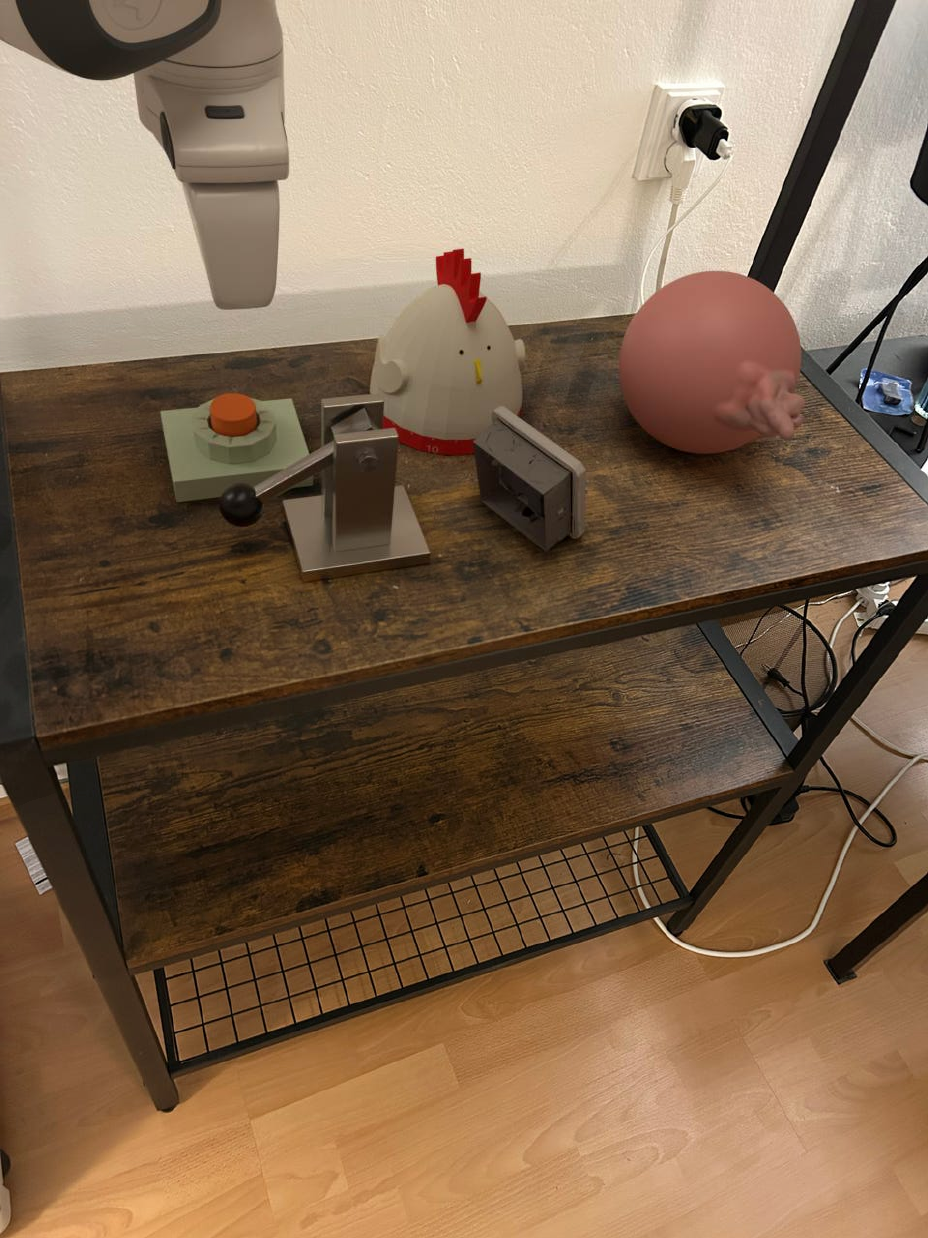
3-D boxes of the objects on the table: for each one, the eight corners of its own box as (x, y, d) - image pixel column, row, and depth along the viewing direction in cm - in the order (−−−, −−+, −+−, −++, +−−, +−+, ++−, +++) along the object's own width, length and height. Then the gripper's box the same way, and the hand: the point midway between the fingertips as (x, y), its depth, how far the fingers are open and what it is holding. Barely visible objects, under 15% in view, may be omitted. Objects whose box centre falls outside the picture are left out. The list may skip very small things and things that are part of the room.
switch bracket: (302, 582, 73) (300, 462, 64) (282, 510, 78) (277, 389, 69) (429, 563, 76) (443, 445, 67) (402, 495, 81) (412, 376, 72)
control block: (176, 502, 77) (170, 464, 74) (163, 431, 83) (157, 392, 80) (313, 485, 80) (312, 448, 77) (292, 418, 86) (290, 380, 83)
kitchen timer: (402, 467, 83) (414, 312, 72) (347, 374, 91) (351, 220, 79) (544, 438, 88) (577, 288, 76) (481, 352, 95) (503, 204, 84)
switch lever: (239, 542, 71) (213, 518, 69) (232, 513, 73) (207, 488, 71) (391, 455, 69) (370, 427, 67) (380, 427, 71) (359, 399, 69)
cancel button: (215, 440, 77) (213, 422, 76) (208, 412, 79) (206, 394, 78) (260, 435, 78) (259, 418, 77) (252, 408, 80) (251, 390, 79)
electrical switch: (585, 538, 80) (601, 455, 72) (541, 570, 77) (554, 487, 70) (504, 477, 84) (513, 392, 76) (461, 506, 81) (465, 421, 74)
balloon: (663, 536, 81) (721, 383, 69) (577, 391, 93) (614, 240, 81) (820, 513, 85) (899, 365, 74) (718, 377, 97) (772, 232, 85)
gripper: (139, 25, 64) (162, 224, 75) (179, 168, 52) (200, 382, 62) (235, 27, 66) (245, 221, 77) (295, 165, 54) (297, 374, 64)
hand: (225, 295), depth 69 cm, fingers closed
